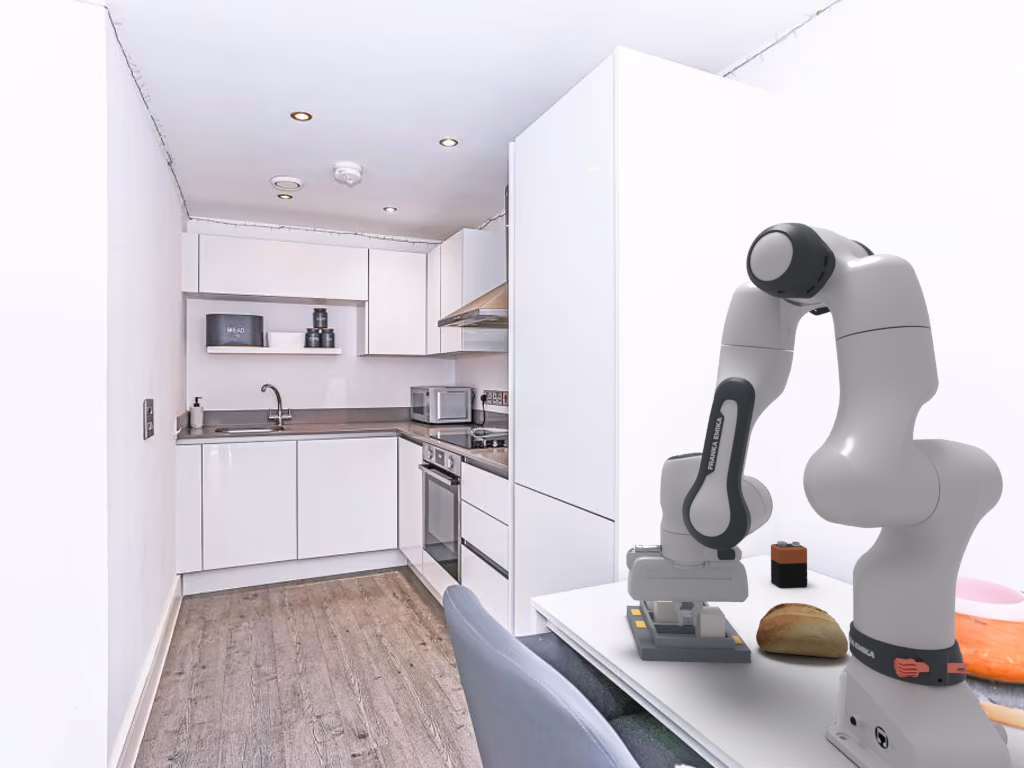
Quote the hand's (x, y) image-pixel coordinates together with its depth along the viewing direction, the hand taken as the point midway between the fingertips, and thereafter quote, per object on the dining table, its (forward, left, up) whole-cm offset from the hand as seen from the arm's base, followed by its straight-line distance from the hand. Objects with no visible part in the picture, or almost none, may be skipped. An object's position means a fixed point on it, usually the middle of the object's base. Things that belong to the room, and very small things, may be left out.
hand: (687, 625), depth 105 cm
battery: (+37, -32, -5) cm, 49 cm away
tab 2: (+6, +2, -2) cm, 7 cm away
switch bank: (+6, -1, -4) cm, 8 cm away
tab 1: (+12, +3, -2) cm, 13 cm away
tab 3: (0, -4, -2) cm, 5 cm away
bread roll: (+1, -20, -5) cm, 20 cm away
